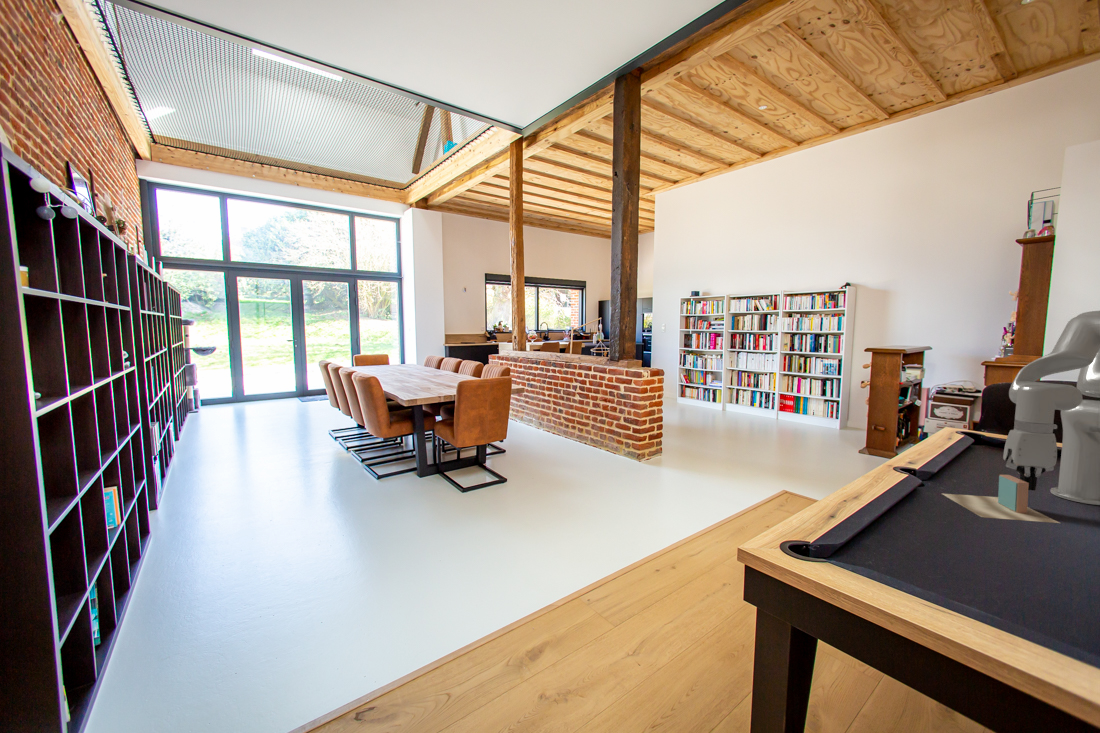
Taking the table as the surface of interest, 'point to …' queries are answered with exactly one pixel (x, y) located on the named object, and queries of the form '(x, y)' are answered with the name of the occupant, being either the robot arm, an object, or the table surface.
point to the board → (996, 508)
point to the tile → (1013, 493)
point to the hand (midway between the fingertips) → (1027, 488)
